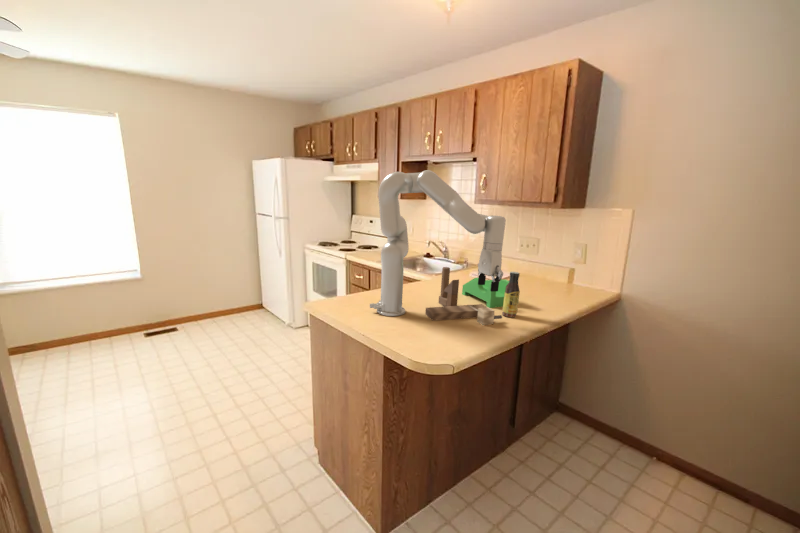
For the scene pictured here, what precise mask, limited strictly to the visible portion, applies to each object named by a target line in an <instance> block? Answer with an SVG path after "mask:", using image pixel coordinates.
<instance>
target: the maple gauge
mask: <svg viewBox="0 0 800 533" xmlns="http://www.w3.org/2000/svg"><path fill="white" fill-rule="evenodd" d="M486 307H487V306H486ZM499 319H503V315H502V314H499V315H495V310H494V309H493V308H489V307H487V308H478V317H476V322H477V323H478V322H479V323H478V324H480V325H481V324H482V325H481V326H491V324H493V325H494V320H499Z"/></svg>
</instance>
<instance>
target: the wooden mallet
mask: <svg viewBox="0 0 800 533" xmlns="http://www.w3.org/2000/svg"><path fill="white" fill-rule="evenodd" d="M441 270H442V271H441V284H440V285H441V286H440V295H439V296H438V304H440V305H442V307H445V306H458V300H459V299H458V297H459V288H460V287H459V285H460V279H452V280H451V281H450V273H451V268H450V267H447V266H443V267H442V269H441Z"/></svg>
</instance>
